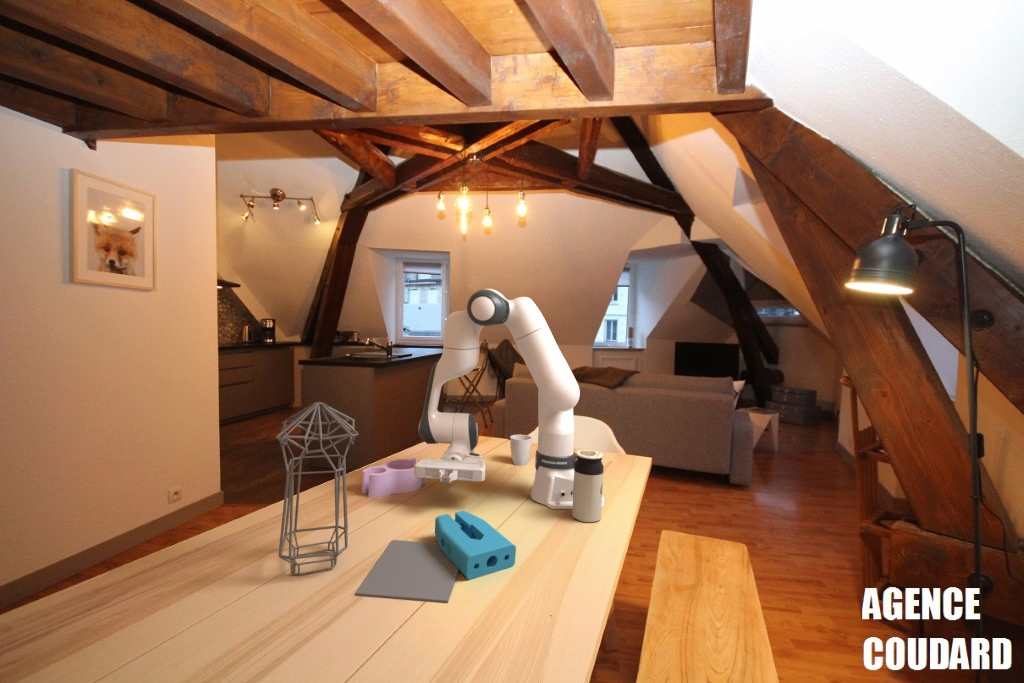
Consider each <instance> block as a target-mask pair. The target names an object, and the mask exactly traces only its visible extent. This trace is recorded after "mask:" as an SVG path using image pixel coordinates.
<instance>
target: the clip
mask: <svg viewBox="0 0 1024 683" xmlns="http://www.w3.org/2000/svg"><path fill="white" fill-rule="evenodd" d="M416 463H417V458H416V457H411V458H396V459H390V460H387V461H384V462H383V463H382V464H380V465H376V466H375V465H374V466H368V467H367V468H366V467H365V468H364V469H363V470H362V479H361V480H362V482H361V483H362V484H361V487H362V488H361V494H365V495H366V494H367V493H368V498H374V499H375V498H382V497H386V496H388V495H390V494H399V493H402V494H403V493H404V494H405V493H410V492H414V491H417V490H419V489H421V487H422V485H427V484H428V478H417V477H415V476H414V466H415V464H416Z"/></svg>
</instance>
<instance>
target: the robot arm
mask: <svg viewBox="0 0 1024 683" xmlns="http://www.w3.org/2000/svg"><path fill="white" fill-rule="evenodd" d="M496 325H505V326H506V327H507V329H508V330H509V331H510V334H511V335H512V338H513V340H514V342H515V345H516V347H517V348H518V350H519V353H520V356H522V359H523V361H524V363H525V365H526V367H527V369H528V371H529V372H530V375H531V377H532V378H533V382H534V383H535V385H536V387H537V389H538V392H537V394H538V396H537V400H538V402H537V405H538V406H537V410H538V412H537V414H538V415H537V416H538V418H537V420H538V430H537V431H538V432H537V449H536V451H535V460H534V466H535V474H534V480H533V485H532V488H531V491H530V493H529V495H530V496H529V497H530V498H531V499H532V500H533V501H535V502H536V503H539V504H542V505H544V506H547V507H548V508H549V509H552V510H572V507H573V487H574V466H575V462H576V460H577V455H576V452H574V450H575V448H574V447H575V428H576V427H575V416H574V408H575V407H576V405H577V404H578V402H579V400H580V396H581V390H580V386H579V384H578V381H577V380H576V378H575V376H574V374H573V372H572V370H571V368H570V365H569V364H568V362H567V360H566V358H565V357H564V356H563V353H562V351H561V349H560V348H559V346H558V344H557V342H556V340H555V338H554V335H553V333H552V331H551V329H550V327H549V325H548V323H547V321H546V319H545V317H544V316H543V314H542V312H541V310H540V309H539V308H538V306H537V305H536V303H535V302H534V301H533V299H532V298H530V297H528V296H519V297H516V298H513V299H508V298H507V297H506V295H505V294H504V293H503V292H501V291H499V290H497V289H494V288H483V289H479V290H477V291H475V292H473V293H472V294H471V295H470V297H469V299H468V300H467V303H466V310H457V311H453V312H451V313H450V314H449V315H448V316H447V318H446V321H445V328H444V333H443V344H442V345H443V350H442V354H441V357H440V358H439V360H438V361H436V362H435V363H434V364H433V365H432V368H431V370H430V374H429V378H428V383H427V388H426V393H425V398H424V404H423V410H422V414H421V417H420V419H419V420H420V421H419V424H418V435H419V437H420V439H421V440H422V441H423V442H425V444H427V445H434V444H435V445H436V444H437V445H438V444H446V445H449V446H448V447H447V449H446V450H445V452H443V454H442V455H441V457H440V458H439V459H438V458H423V459H422V458H421V459H420V460H418V462H417V461H416V464H415V466H414V476H415V477H417V478H427V479H434V480H436V479H437V480H439V482H440V483H452V481H463V482H464V481H467V482H484V481H485V480H486V467H487V466H486V462H485V460H484V454H480V453H475V448H476V447H477V446H478V443H479V436H480V427H479V423H478V421H477V419H476V418H475V416H474V415H473V414H472V413H466V412H465V413H464V412H444V411H443V412H441V411H439V410H438V406H439V401H440V397H441V390H442V387H443V385H444V384H445V383H446V382H449V381H451V380H454V379H457V378H460V377H463V376H465V375H467V374H469V373H470V372H472V371H473V370H474V369H475V368H476V367H477V365H478V363H479V359H480V358H479V357H480V336H481V333H482V329H483V328H484V327H492V326H496ZM604 506H605V497H604V495H603V494H602V508H603V507H604Z"/></svg>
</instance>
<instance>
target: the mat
mask: <svg viewBox="0 0 1024 683" xmlns="http://www.w3.org/2000/svg"><path fill="white" fill-rule="evenodd" d="M459 571H460V570H459V569H458V568H457V567H456V565H455V564H454V563H453V562H452V561H451V560H450V559H449V558H448V557H447V556H446V554H445V553H444V552H443V551H442V550H441V549H440V547H439V544H438V542H428V541H427V542H425V541H424V542H423V541H414V540H412V541H411V540H400V539H392V540H391V541H390V543H389V544H388V546H387V547H386V549H385V551H384V552H383V553H382V555H381V556H380V557H379V559H378V561H376V563H375V564H374V565H373V567H372V569H371V570H370V571H369V573H368V575H367V576H366V578H365V579H364V580H363V581H362V583H361V585H360V586H359V588H358V589H357V590H356V592H355V596H364V597H373V598H374V597H375V598H384V599H398V600H409V601H411V600H412V601H422V602H423V601H425V602H436V603H445V604H446V603H449V601H450V597H451V595H452V592H453V590H454V587H455V583H456V580H457V577H458V575H459Z"/></svg>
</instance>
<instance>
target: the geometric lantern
mask: <svg viewBox="0 0 1024 683" xmlns="http://www.w3.org/2000/svg"><path fill="white" fill-rule="evenodd" d="M311 413H312V415H311V418H310V420H309V421H303V420H305V419H306V417H308V416H309V415H310V414H311ZM321 413H322V414H323V417H324V419H325V421H322V420H321V419H322V418H321ZM327 414H328V415H329V416H330V417H331V419H333V420H331V421H330V420H329V417H328V416H327ZM313 421H314V422H313ZM350 421H351V424H349V423H348V422H350ZM355 422H356V421H355V419H354V418H352V417H351V416H348V415H346V414H345V413H343V412H340V411H339V410H337V409H335V408H333V407H331V406H329V405H328V404H327V403H325V402H321V401H316V402H313V403H311V404H309V405H308V406H306V407H304V408H303V409H301V410H299V411H298V412H296V413H295V414H293V415H291V416H290V417H288V418H286V419H285V420H283V421H281V422H280V425H281V424H282V425H283V427H282V429H280V432H279V433H278V434H277V435H276V436H275V439H277V441H279V446H280V447H281V451H282V457H283V462H284V467H285V472H286V479H285V488H284V497H283V498H284V499H283V508H282V517H281V518H282V519H281V527H280V538H279V548H278V557H279V558H280V559H281V560H284V561H285V562H287V563H289V564H290V565H292V567H291V568H292V569H291V570H292V572H291V573H292V576H297V577H298V576H302V575H303V576H304V575H309V574H313V573H319V572H325V571H330V570H333V569H334V568H335V567H336V566H337V560H338V559H337V558H338V556H339V555H341V554H342V553H343V552H344V551H345V550H347V549H348V548H349V546H348V544H349V543H348V542H349V540H348V538H349V534H348V533H349V532H348V530H349V529H348V528H349V527H348V526H349V525H348V521H349V520H348V500H347V499H348V497H347V469H346V466H347V465H346V462H347V461H346V456H347V454H348V451H349V449H350V446H353V445H354V442H355V439H356V437H357V436H359V435H360V434H359V432H358V431H357V430H356V429H355ZM287 423H289V424H288V425H287ZM335 423H337V426H336V427H335V428H334V429H332V430H331V431H330V428H331V424H335ZM302 425H307V428H306V427H304V426H302ZM312 425H313V426H314V429H313V430H314V431H312V430H311V428H312ZM322 425H325V426H326V425H328V426H327V431H326V433H323V430H322V428H323V427H322ZM317 427H318V433H316V432H317ZM295 428H299V429H301V430H303V431H305V435H289V434H290V433H291V432H292V431H294V429H295ZM340 428H342V429H343V431H344V432H345V433H344V434H338V435H332V434H333V433H335V432H336V431H337V430H338V429H340ZM288 430H289V431H288ZM287 431H288V432H287ZM309 434H310V435H311V436H309ZM330 435H331V436H330ZM348 438H349V440H348V443H347V445H346V448H345V451H344V454H343V455H341V454H340V453H339V452H340V451H338V449H337V447H336V445H337V444H340V443H341V442H343V441H345V440H346V439H348ZM293 439H300V440H301V439H302V440H303V441H304V446H303V445H301V444H300V443H298V442H296V441H295V440H293ZM333 439H338V440H336V441H332V440H333ZM327 440H328V441H329V442H330V444H329V445H326V446H324V447H323V442H322V441H327ZM312 441H319V446H320V447H319V448H320V449H318V448H317V449H313V450H309V449H308V447H309V445H310V443H311V442H312ZM288 442H289V443H291V444H292V445H293V446H295V447H297V448H298V449H301V453H300V455H299V456H296V457H295V455H294V453H293V451H292V450H291V448H290V445H289V444H288ZM285 446H286V447H287V450H289V451H288V452H290V456H291V457H292V458H290V459H289V461H288V458H287V455H286V450H285ZM332 447H333V449H334V450H335V452H336V453H337V454H327V452H326V450H328V449H330V448H332ZM315 453H322V455H310V454H315ZM308 454H309V456H308ZM331 457H337V458H338V459H337V460H338V462H337V468H336V466H335V465H334V463H333V462H332V460H331V459H330V458H331ZM311 458H312V459H313V458H326V460H327V461H328V463H329V465H330V466H331V468H332V469H333V470H321V471H320V470H319V471H302V466H303V465H302V464H303V459H311ZM296 460H298V462H296V464H295V461H296ZM341 460H342V461H341ZM294 464H295V465H294ZM297 467H298V471H297V472H294V470H295V469H296V468H297ZM341 472H342V473H341ZM328 473H329V474H330V473H334V516H335V517H334V522H335V525H330V526H318V527H310V528H309V527H308V528H301V529H297V528H298V517H299V516H298V515H299V505H300V503H299V502H300V493H301V492H300V491H301V490H300V489H301V478H302V477H301V476H302V475H309V474H311V475H312V474H313V475H314V474H328ZM341 474H342V501H343V503H342V504H343V505H342V506H343V526H341V525H339V520H340V518H339V517H340V496H341V495H340V492H341ZM295 475H297V486H296V487H297V488H296V489H297V490H296V497H295V498H296V500H295V513H294V491H295V490H294V489H295V487H294V486H295V483H294V482H295ZM294 516H295V517H294ZM293 517H294V521H293ZM293 522H294V524H293ZM293 525H294V528H293ZM288 528H289V532H288ZM328 529H334V530H333V532H332V535H331V537H330V539H329V540H328V541H322V542H317V543H316V542H315V543H309V544H305V545H299V543H298V539H297V534H296V533H302V532H312V531H321V530H328ZM339 529H340V530H343V532H341V533H340V535H339ZM343 535H344V547H343V548H341V549H340V550H339V539H340V538H341V537H342V536H343ZM288 536H289V537H288ZM293 537H294V541H295V545H296V547H295V546H294V544H293ZM334 537H335V540H334V541H333V539H334ZM286 541H287V542H288V555H284V554H283V552H284V547H285V544H286ZM325 544H327V549H322V550H316V551H312V552H311V551H310V552H305V553H300V552H299V551H300V548H308V547H312V546H314V547H315V546H320V545H325ZM330 545H331V546H330ZM330 547H331V548H330ZM292 550H293V551H292ZM324 552H325V553H324ZM292 553H293V555H292ZM329 556H332V558H328V559H319V560H313V561H307V562H300V563H298V562H297V561H296V560H298V559H308V558H320V557H329ZM324 562H331V564H330V565H331V567H325V568H321V569H315V570H310V571H305V572H301V566H304V565H309V564H318V563H324ZM296 567H297V569H296ZM296 570H297V573H296Z"/></svg>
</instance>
